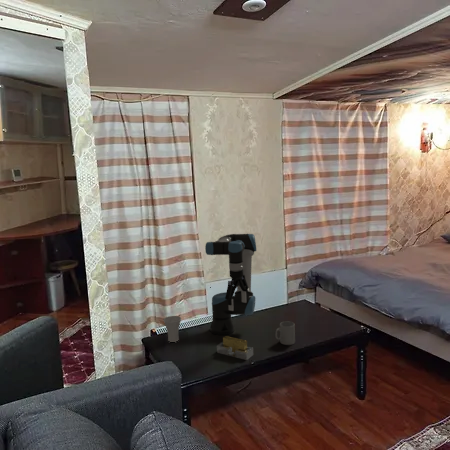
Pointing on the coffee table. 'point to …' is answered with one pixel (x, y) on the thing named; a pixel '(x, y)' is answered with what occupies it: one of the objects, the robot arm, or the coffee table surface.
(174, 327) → the cup
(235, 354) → the bracket
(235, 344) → the yellow rectangular block
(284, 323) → the mug
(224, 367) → the coffee table surface
